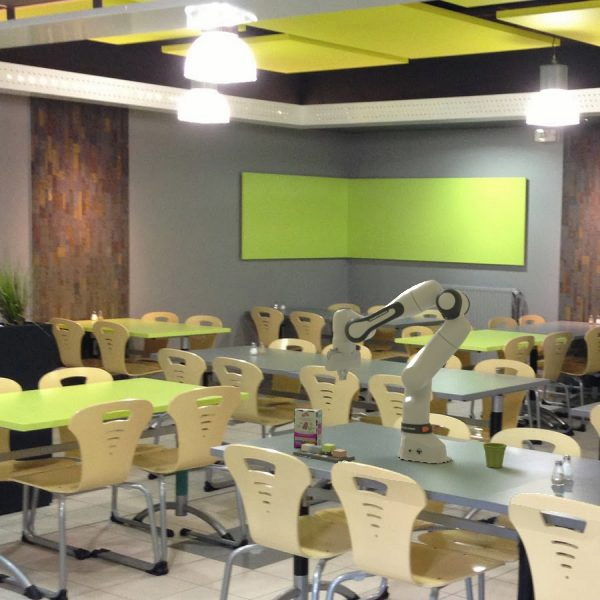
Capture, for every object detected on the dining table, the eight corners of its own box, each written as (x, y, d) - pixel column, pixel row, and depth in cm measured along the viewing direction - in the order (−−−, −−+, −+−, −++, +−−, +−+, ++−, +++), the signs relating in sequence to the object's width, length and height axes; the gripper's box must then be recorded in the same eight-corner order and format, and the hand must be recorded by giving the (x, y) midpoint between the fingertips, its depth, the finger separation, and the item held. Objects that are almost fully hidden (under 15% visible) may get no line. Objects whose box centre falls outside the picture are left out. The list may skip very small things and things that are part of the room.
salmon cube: (346, 459, 447) (346, 450, 447) (340, 460, 444) (340, 451, 444) (338, 457, 450) (338, 449, 450) (332, 459, 447) (332, 450, 447)
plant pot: (477, 464, 442) (478, 443, 442) (498, 463, 446) (499, 442, 445) (489, 469, 434) (490, 447, 433) (510, 468, 437) (511, 446, 436)
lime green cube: (335, 453, 451) (336, 444, 450) (329, 454, 448) (329, 446, 447) (328, 452, 453) (328, 443, 453) (321, 453, 450) (322, 444, 450)
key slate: (325, 455, 454) (325, 446, 454) (319, 456, 451) (319, 447, 451) (317, 453, 457) (317, 445, 457) (311, 455, 454) (311, 446, 454)
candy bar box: (322, 448, 471) (323, 409, 470) (316, 450, 466) (317, 411, 465) (298, 445, 476) (299, 407, 475) (293, 447, 471) (293, 408, 470)
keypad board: (354, 459, 449) (354, 455, 449) (337, 462, 441) (337, 459, 440) (310, 451, 464) (310, 447, 464) (292, 454, 456) (293, 450, 456)
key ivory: (314, 453, 458) (315, 444, 458) (308, 454, 455) (308, 445, 455) (307, 451, 460) (307, 443, 460) (301, 453, 457) (301, 444, 457)
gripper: (333, 349, 457) (333, 383, 458) (363, 346, 473) (363, 378, 474) (321, 348, 462) (321, 381, 462) (351, 345, 477) (351, 377, 478)
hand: (342, 380), depth 468 cm, fingers closed
